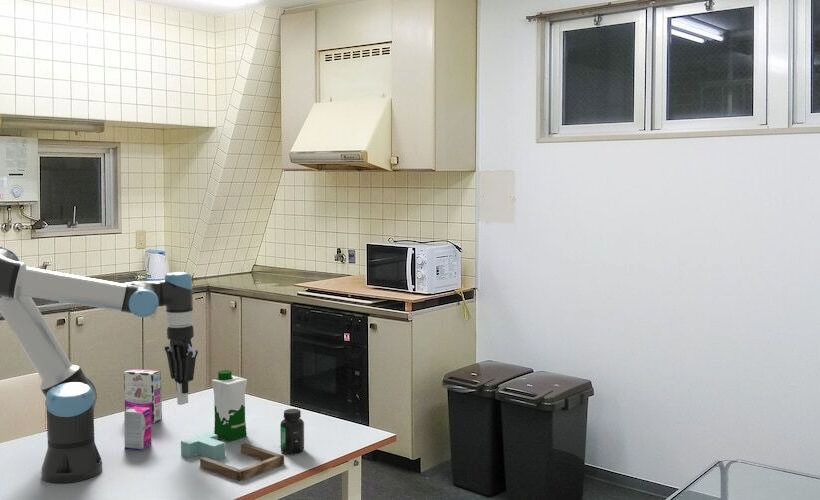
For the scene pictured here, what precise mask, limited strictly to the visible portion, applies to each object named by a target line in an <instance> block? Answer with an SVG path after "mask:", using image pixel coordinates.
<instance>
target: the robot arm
mask: <svg viewBox="0 0 820 500" xmlns="http://www.w3.org/2000/svg"><path fill="white" fill-rule="evenodd" d="M25 263H26V262H24V261H23V262H22V261H20V259H19V258H18V256H17V255H16V253H14V251H12V250H10V249H9V248H6V247H3V246H0V313H1V314H0V315H2V318H3V319H4V320H5V322H6V324H7V325H8V327H9V329H10V330H11V331H12V334H13V335H14V336H15V339H16V340H17V342H18V343H19V344H20V346H21V348H22V350H23V351H24V353H25V355H26V356H27V358H28V359H29V361H30V362H31V364H32V366H33V367H34V369H35V371H36V372H37V374H38V375H39V377H40V379H41V383H40V387H39V389H40V390H41V392H42V394H43V395H44V397H45V400H44V401H45V402H44V403H45V404H44V406H45V408H46V429H47V430H46V431H47V433H46V434H47V435H46V437H47V449H46V453H45V456H44V458H43V459H44V460H43V462H42V466H41V479H42V480H44V481H46V482H49V483H55V484H56V483H57V484H65V483H67V484H68V483H76V482H81V481H85V480H88V479H91V478H93V477H95V476H97V475H99V474H100V473H101V472H102V471H103V459H102V457H101V455H100V452H99V449H98V447H97V445H96V442H95V415H94V414H95V408H96V402H97V397H98V396H97V395H98V393H97V389H96V387H95V384H94V382H93V381H92V380H91V379H90V378H88V377H87V376H86V374H85V372H84V371H83V370H82V367H80V365H76V364H73V363H72V362H71V361H70V359H69V357H68V356H67V354H66V353H65V351H64V350H63V347H62V346H61V344H60V343H59V340H58V339H57V338H56V336H55V335H54V334H55V333H54V332H53V330H51V327H50V326H49V324H48V322H47V321H46V320H45V318H44V316H43V314H42V312H41V311H40V310H39V308H38V306H37V305H36V302H35V301H34V300H33V298H35V299H39V300H40V299H41V300H47V301H55V302H59V303H60V302H61V303H65V304H75V305H79V306H86V307H91V308H93V307H94V308H99V309H104V310H111V311H119V312H122V313H127V314H133V315H134V316H137V317H138V318H148V317H150V316H152V315H154V314H155V312H156V311H157V309H158V307H166V309H165V313H166V316H165V317H166V319H165V320H166V321H165V322H166V325H167V327H166V335H167V336H166V338H167V339H168V340H169V344H168V345H166V346H164V351H165V353H166V358H167V362H168V369H169V374H170V379H171V380H174V382H175V388H176V396H177V397H176V398H177V405H180V406H181V405H185V404H188V403H189V382H190V381H193V380H194V375H195V367H196V360H197V356H198V353H199V350H198V349H197V350H196V349H195V350H194V348H193V343H192V338H194V337H195V336H194V335H195V334H194V333H195V332H194V329H195V328H194V325H193V323H194V314H193V313H194V312H193V311H194V309H193V307H194V306H193V304H194V301H193V299H194V297H193V282H192V275H191V274H190V273H189V272H183V271H175V272H167V273H166V274H165V275H164V279H162V280H147V281H141V280H140V281H136V280H135V281H129V282H124V283H121V282H115V281H110V280H105V279H98V278H91V277H87V276H81V275H75V274H69V273H62V272H58V271H54V270H53V271H52V270H47V269H41V268H37V267H29V266H27V265H26V264H25Z"/></svg>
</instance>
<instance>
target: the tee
mask: <svg viewBox="0 0 820 500" xmlns="http://www.w3.org/2000/svg"><path fill="white" fill-rule="evenodd" d="M218 439H219V438H218V435H216V434H214V432H213V433H212V432H210V431H208V432H206V433H201V434H199V435H196V436H192V437H189V438H186V439H183V440H180V454H181V456H184V457H187V458H192V457H196V456H200V457H206V458H209V459H212V460H214V461H217V460H219V459H221V458H224V457H226V442H224V441H221V440H218Z"/></svg>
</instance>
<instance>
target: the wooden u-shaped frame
mask: <svg viewBox="0 0 820 500" xmlns="http://www.w3.org/2000/svg"><path fill="white" fill-rule="evenodd" d="M240 453H241V454H244V455H246V456H249V457H253V458H255V459H258V460H262V461H259V462H256V463H253V464H251V465H248V466H246V467H244V468H241V469H240V468H237V467H236V466H231V465H229V464H225V463H222V462H220V461H217V460H212V459H210V458H207V457H204V456H202V457H200V458H199V468H201V469H204V470H207V471H209V472H212V473H214V474H217V475H220V476H224V477H227V478H229V479H232V480H234V481H237V482H242V481H246V480H247V479H250V478H253V477H256V476H258V475H261V474H263V473H265V472H268V471H270V470H273V469H276V468H279V467H281V466H285V454H280V453H277V452H274V451H271V450H267V449H264V448H261V447H259V446H255V445H251V444H249V443H246V442H245V443H241V444H240Z"/></svg>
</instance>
